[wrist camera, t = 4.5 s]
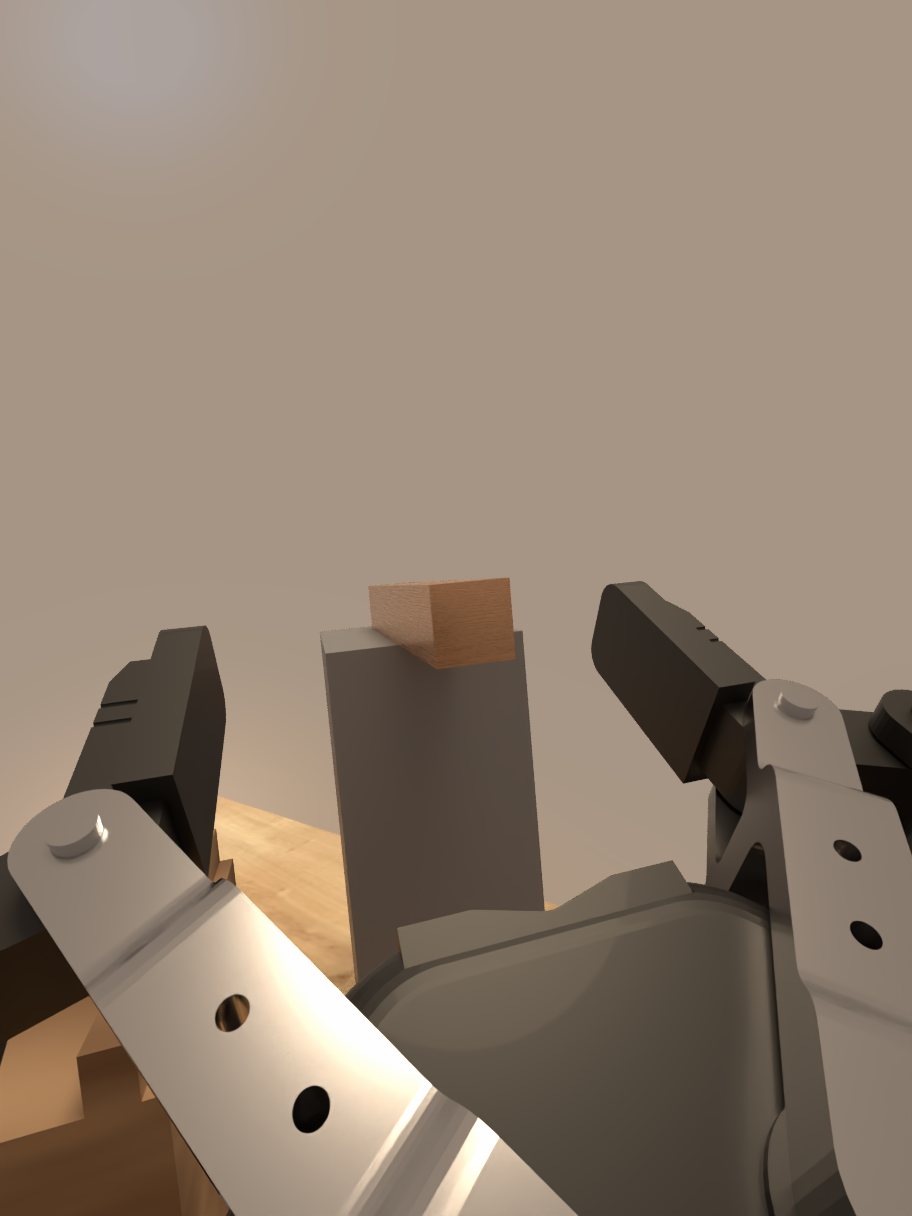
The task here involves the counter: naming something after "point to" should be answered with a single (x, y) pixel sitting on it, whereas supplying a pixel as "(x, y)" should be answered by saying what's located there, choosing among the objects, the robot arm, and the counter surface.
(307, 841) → the counter surface
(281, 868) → the counter surface
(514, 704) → the stand
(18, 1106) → the wood grain block
